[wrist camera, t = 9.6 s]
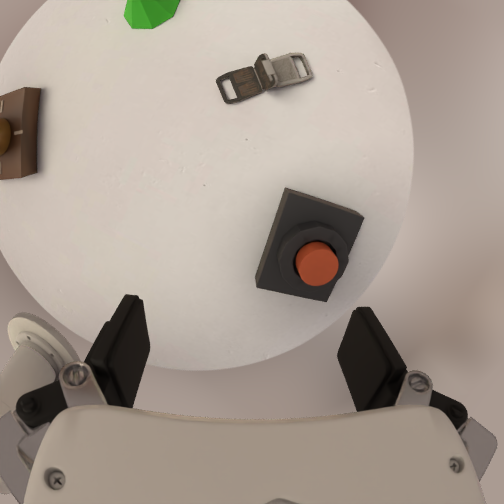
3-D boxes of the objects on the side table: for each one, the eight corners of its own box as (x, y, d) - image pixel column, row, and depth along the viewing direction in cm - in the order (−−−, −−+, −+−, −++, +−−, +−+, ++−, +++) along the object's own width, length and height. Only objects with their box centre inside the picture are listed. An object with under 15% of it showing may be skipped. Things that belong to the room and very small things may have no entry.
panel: (38, 172, 23) (22, 178, 20) (-3, 176, 22) (-18, 182, 19) (42, 87, 19) (26, 86, 16) (-1, 101, 18) (-17, 102, 15)
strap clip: (301, 52, 20) (312, 39, 16) (312, 80, 21) (326, 70, 18) (214, 78, 21) (210, 67, 17) (226, 106, 22) (223, 100, 18)
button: (324, 280, 26) (329, 289, 24) (289, 272, 25) (293, 281, 24) (338, 247, 25) (344, 255, 23) (303, 237, 24) (307, 244, 22)
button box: (321, 291, 31) (331, 312, 27) (254, 276, 30) (257, 297, 26) (356, 211, 27) (372, 223, 23) (284, 187, 26) (292, 197, 22)
